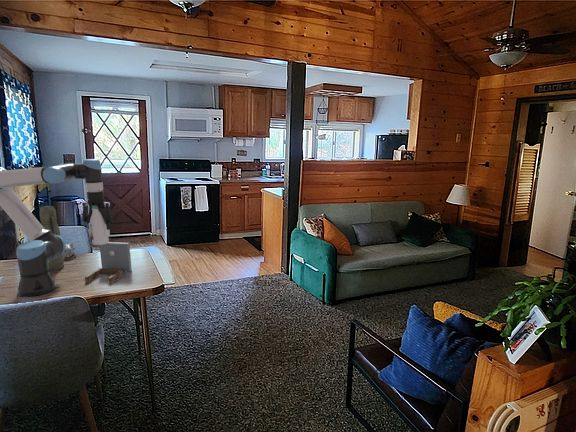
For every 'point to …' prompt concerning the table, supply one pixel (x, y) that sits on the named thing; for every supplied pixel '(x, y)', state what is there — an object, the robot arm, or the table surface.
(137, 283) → the table surface
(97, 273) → the notch cradle
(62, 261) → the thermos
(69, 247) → the gray elephant figurine
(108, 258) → the wall panel
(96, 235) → the milk bottle
